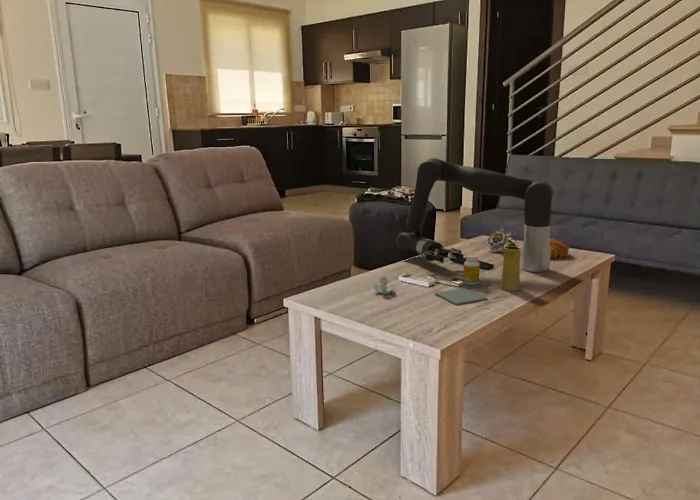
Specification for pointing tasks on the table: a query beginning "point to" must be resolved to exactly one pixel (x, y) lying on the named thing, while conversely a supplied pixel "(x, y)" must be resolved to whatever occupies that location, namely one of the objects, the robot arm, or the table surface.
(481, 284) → the dark gray tile
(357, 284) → the table surface
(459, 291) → the slate pad
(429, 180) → the robot arm
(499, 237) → the passion flower
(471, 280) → the supplement bottle
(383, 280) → the pacifier
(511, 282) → the vase
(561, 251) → the croissant
